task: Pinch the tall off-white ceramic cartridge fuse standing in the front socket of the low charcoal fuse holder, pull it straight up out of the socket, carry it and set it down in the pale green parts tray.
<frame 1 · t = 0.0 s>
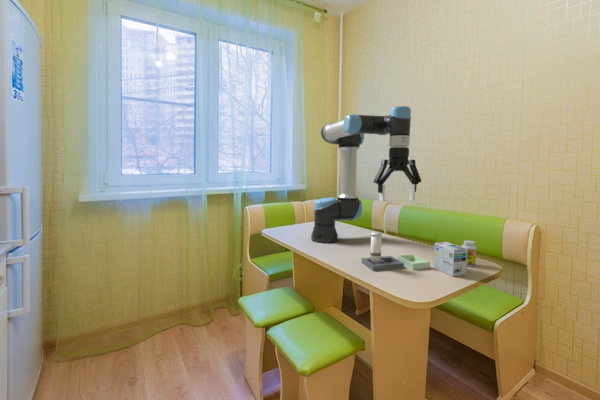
hand: (396, 200, 120), 28 cm above the table, fingers open, 13 cm apart
light bulb box: (449, 271, 118), on the table
fuse: (375, 265, 123), resting on fuse holder
supplement bottle: (467, 265, 126), on the table
fuse holder: (382, 266, 124), on the table
parts tray: (412, 265, 125), on the table
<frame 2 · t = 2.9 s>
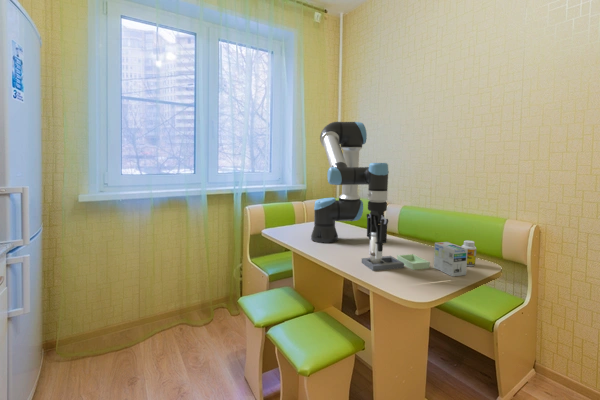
hand: (375, 256, 123), 4 cm above the table, fingers closed on fuse, 4 cm apart
fuse: (375, 265, 123), resting on fuse holder, touching gripper
everything else where it was.
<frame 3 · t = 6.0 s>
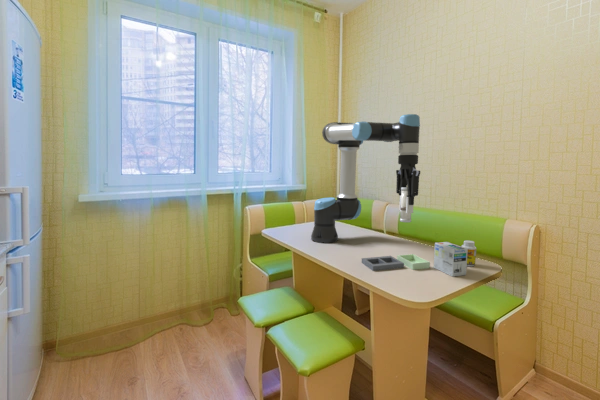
hand: (406, 211, 121), 23 cm above the table, fingers closed on fuse, 4 cm apart
fuse: (405, 221, 122), point 19 cm above the table, touching gripper
everything else where it was.
when the fingers open (6 cm above the table, at t = 9.2 s): fuse drops 1 cm, resting on parts tray.
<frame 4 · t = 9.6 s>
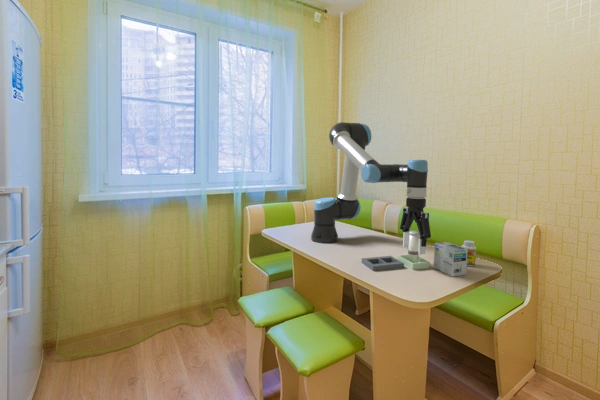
hand: (413, 250, 124), 7 cm above the table, fingers open, 10 cm apart
fuse: (412, 264, 125), point 1 cm above the table, touching parts tray
everything else where it was.
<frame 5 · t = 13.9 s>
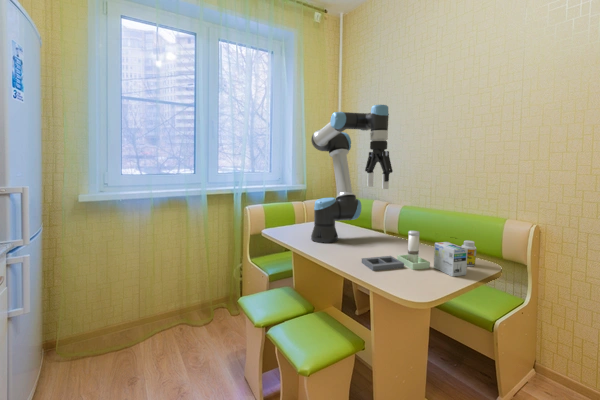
hand: (377, 187, 136), 32 cm above the table, fingers open, 13 cm apart
nothing on the table moved.
at the end: fuse inside the target area on the parts tray (0.0 cm from its centre), point 0.5 cm above the parts tray's base; fuse moved 16.4 cm from its start; the gripper is holding nothing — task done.
